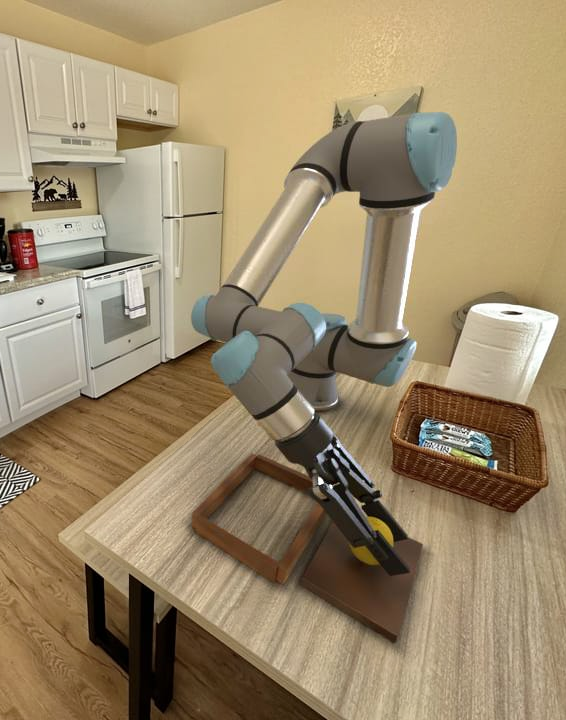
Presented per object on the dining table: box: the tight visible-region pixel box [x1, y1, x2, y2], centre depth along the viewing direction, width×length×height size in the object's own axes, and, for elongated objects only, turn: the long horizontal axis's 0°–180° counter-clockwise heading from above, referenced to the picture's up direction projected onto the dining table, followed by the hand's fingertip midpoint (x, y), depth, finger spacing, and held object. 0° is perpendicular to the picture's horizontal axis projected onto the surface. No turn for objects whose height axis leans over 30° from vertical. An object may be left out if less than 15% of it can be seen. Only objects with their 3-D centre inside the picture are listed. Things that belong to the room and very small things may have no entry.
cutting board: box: [300, 521, 424, 644], centre depth 58 cm, size 18×12×2 cm, turn 138°
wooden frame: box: [191, 453, 327, 586], centre depth 67 cm, size 22×16×3 cm
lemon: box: [349, 516, 393, 565], centre depth 56 cm, size 6×6×8 cm
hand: (398, 554), depth 54 cm, fingers closed on lemon, 5 cm apart
